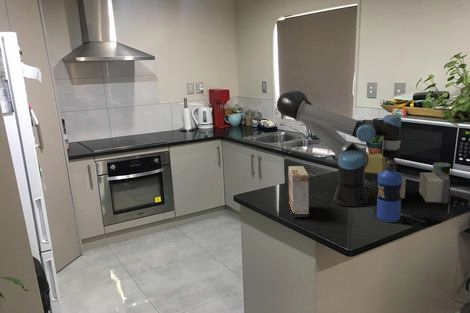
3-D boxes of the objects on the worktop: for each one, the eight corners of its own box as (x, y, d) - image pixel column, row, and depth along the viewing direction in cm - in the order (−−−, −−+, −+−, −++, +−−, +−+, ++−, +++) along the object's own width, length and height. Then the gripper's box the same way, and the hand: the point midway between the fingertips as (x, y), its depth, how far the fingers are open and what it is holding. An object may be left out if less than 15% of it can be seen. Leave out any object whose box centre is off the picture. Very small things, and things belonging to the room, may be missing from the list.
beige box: (384, 197, 177) (385, 177, 174) (382, 193, 182) (383, 173, 180) (404, 198, 174) (405, 177, 172) (402, 194, 180) (403, 174, 178)
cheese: (368, 168, 229) (369, 152, 227) (386, 170, 223) (387, 154, 221) (363, 172, 221) (363, 156, 219) (382, 174, 215) (382, 157, 212)
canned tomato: (445, 188, 186) (447, 167, 183) (429, 185, 191) (430, 164, 189) (451, 184, 191) (453, 163, 188) (435, 181, 196) (436, 161, 194)
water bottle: (394, 213, 157) (397, 156, 152) (404, 222, 148) (407, 162, 143) (372, 214, 157) (374, 158, 152) (381, 223, 148) (383, 163, 143)
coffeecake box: (288, 206, 172) (287, 166, 168) (304, 205, 172) (303, 165, 168) (292, 219, 158) (291, 175, 153) (309, 218, 157) (309, 174, 153)
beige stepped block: (426, 202, 168) (428, 179, 165) (418, 191, 183) (420, 169, 181) (448, 203, 165) (450, 179, 163) (438, 191, 181) (440, 169, 178)
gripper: (403, 152, 164) (400, 202, 169) (396, 144, 182) (394, 189, 187) (385, 152, 166) (383, 201, 171) (380, 144, 184) (378, 188, 189)
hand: (389, 194), depth 179 cm, fingers closed on beige box, 6 cm apart
